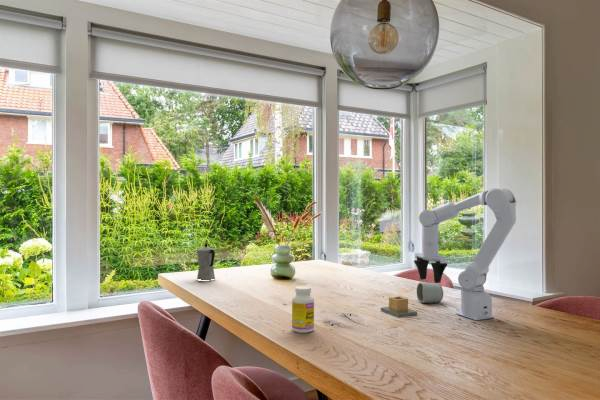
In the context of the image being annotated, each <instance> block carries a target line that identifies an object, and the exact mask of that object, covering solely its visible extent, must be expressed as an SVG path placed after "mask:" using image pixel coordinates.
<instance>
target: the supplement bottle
mask: <svg viewBox="0 0 600 400" xmlns="http://www.w3.org/2000/svg"><path fill="white" fill-rule="evenodd" d="M294 292H295V295H294V296H292V299H291V329H292V332H295V333H299V334H300V333H301V334H304V333H305V334H306V333H311V332H313V331H314V329H315V298H314V297H313V296H312V295H311V292H312V287H310V286H306V285H302V286H300V285H299V286H296V287H295V291H294Z"/></svg>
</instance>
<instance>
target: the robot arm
mask: <svg viewBox="0 0 600 400" xmlns="http://www.w3.org/2000/svg"><path fill="white" fill-rule="evenodd" d="M478 206H487V207H489V208H490V210H491V211H492V212H493V214H494V217H495V219H496V221H495V223H494V225H493V226H492V228H491V229H490V231H489V233H488V235H487V236H486V238H485V240H484V241H483V243H482V246H481V247H480V248H479V250H478V252H477V253H476V255H475V257H474V258H473V260H472V261H471V263H469V264H468V265H467V267H466V268H465V269H464V270H463V271H461V272H460V273H459V275H458V277H457V282H458V284H459V286H460V290H461V291H460V309H461V310H460V311H456V312H455V315H459V316H462V317H464V318H468V319H471V320H473V321H481V320H487V319H493V318H494V315H493V310H492V309H493V301H492V300H493V299H492V296H491V294H490V293H489V292H486V291H485V288H484V287H485V286H484V284H485V283H486V281H487V275H488V273H489V271H490V269H489V267H490V265H491V263H492V262H493V260H494V258H495V257H496V255H497V254H498V252H499V250H500V249H501V247H502V245H503V243H504V242H505V240H506V239H507V237H508V235H509V234H510V232H511V230H512V229H513V227H514V225H515V224H516V221H517V213H516V212H517V211H516V206H517V199H516V197H515V195H514V194H513V192H512V191H511V190H510V189H506V188H501V189H500V188H492V189H490V190H484V191H481V192H478V193H475V194H473V195H471V196H469V197H467V198H465V199H462V200H460V201H458V202H453V201H448V200H445V201H443V202H442V204H440V205H438V206H432V207H431V209H424V210H422V211H421V213H419V216H418V219H419V220H418V221H419V223H420V225H421V252H417V253H415V252H414V260H413V263H414V264H415V267H416V268H417V272H418V275H419V279H420V280H421V281H422V280H427V273H428V265H429V262H431V267H432V272H433V283H436V284H440V283H441V281H442V278H443V274H444V272H445V269H447V266H448V263H447V256H441V254H439V225H440V223H443V222H446V221H449V220H451V219H454V218H457V217H458V216H459V213H460V212H463V211H465V210H468V209H471V208H474V207H478Z"/></svg>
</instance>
